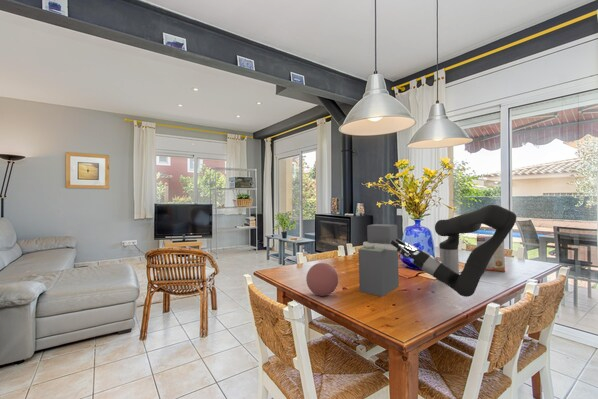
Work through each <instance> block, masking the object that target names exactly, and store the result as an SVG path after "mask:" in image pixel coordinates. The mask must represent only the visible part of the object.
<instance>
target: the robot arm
mask: <svg viewBox="0 0 598 399" xmlns="http://www.w3.org/2000/svg"><path fill="white" fill-rule="evenodd" d="M516 222H517V214H516V213H515V212H513V211H512V210H509V209H507V208H506V207H503V206H501V205H499V204H495V203H492V204H491V203H490V204H487V205H485V206H483V207H481V208H478V209H476V210H474V211H471V212H468V213H463V214H459V215H456V216H453V217H451V218H448V219H439V220H437V222H436V223H435V224H434V230H435V233H436V234H437V235H438V236H440V237H447V238H446V239H445V240H443V241H441V242H440V243H439V245H438V247H439V250H438V252H439V259H438V258H437V257H435V256H433V255H431V254H430V253H429V252H427V251H426V250H423V249H422V250H420V249H419V248H418V247H416V246H415V245H412V244H411V243H409V242H404V241H402V240H401V239H399V238H398V239H396V241H394V240H392V242H391V245H393V246H394V247H396V248H397V251H398V254H400V255H401V256H403V257H404V258H405V259H408V258H409V259H412V260H413V262H412V264H413V265H414V266H416V267H418V268H419V269H420V270H422V271H423V272H425V274H428V275H430V276H432V277H433V278H435V279H436V280H438V281H439V282H441V283H443V284H445V285H446V286H448V287H449V288H450V289H452V290H453V291H454V292H456V293H457V294H458V295H460V296H462V297H465V298H467V297H471V296H473V295H474V294H475V291H476V289H477V287H478V285H479V283H480V280H481V279H482V278H481V277H483V275H484V273H485V271H486V270H485V269H486V267H487V265H488V263H489V261H490V259H491V258H492V256H493V254H494V253H495V251H496V250H497V249H498V247H499V246H500V245H501V243H502V242H503V241H504V242H505V239H506V238H507V236H508V235H509V234H510V233H511V231H512V229H513V227H514V226H515V225H516ZM482 225H485V226H487V227H489V228H492V229H494V230H495V231H494V233H493V235H491V236H492V237H491V238H490V239H489V240H488V241H486V242H485V243H483V244H481V245H480V246H478V247H477V246H476V247H475V248H474V249H473V250H471V252H470V253H469V256H468V257H467V259H466V261H465V263H464V266H463V269H462V271H461V273H460V268H459V266H460V265H459V262H460V260H459V244H460V234H469V233H475V232H477V231H479V230H480V228H481V226H482ZM402 245H406V246H402ZM401 249H402V250H401ZM405 249H406V250H405Z"/></svg>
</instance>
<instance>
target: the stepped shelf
mask: <svg viewBox="0 0 598 399" xmlns="http://www.w3.org/2000/svg"><path fill="white" fill-rule="evenodd" d="M366 230H367V231H366V232H367V234H366V235H367V242H376V243H387V244H391V242H392V240H394V241H396V239H399V238H398V225H397V224H390V223H388V224H385V223H381V224H380V223H374V224H368V225H366ZM357 251H358V279H359V280H358V282H359V285H358V286H359V292H360V293H363V292H364V294H368V295H373V296H377V297H382V298H383V297H385V296H386V295H388V294H389V293H391V292H393V291H394V290H395V289H396V288H398V287H399V286H400V282H399V279H400V277H399V252H398V251H396V250H386V249H376V248H373V249H368V248H363V246H362V247H360V248H359V249H358V250H357Z"/></svg>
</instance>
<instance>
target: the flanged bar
mask: <svg viewBox="0 0 598 399" xmlns="http://www.w3.org/2000/svg"><path fill="white" fill-rule="evenodd" d="M402 246H406V245H402ZM362 247H363V248H368V249H373V248H376V249H386V250H396V251H397V248H396V247H394V246H393V245H391V244H387V243H376V242H368V241H363V243H362ZM401 250H402V249H401ZM405 250H406V249H405Z"/></svg>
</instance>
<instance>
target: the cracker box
mask: <svg viewBox="0 0 598 399" xmlns="http://www.w3.org/2000/svg"><path fill="white" fill-rule="evenodd" d="M492 236H493V235H481V234H480V235H478V234H477V235H476V247H478V246H480V245H481V244H483V243H485V242H486V241H488V240H489V239H490V238H491V237H492ZM505 259H506V258H505V240H504V241H503V242H502V243H501V245H500V246H499V247H498V249H497V250H496V251H495V253H494V254H493V256H492V258H491V259H490V261H489V263H488V265H487V267H486V269H485V271H491V272H494V271H495V272H504V273H505V272H506V263H505V262H506V260H505Z"/></svg>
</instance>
